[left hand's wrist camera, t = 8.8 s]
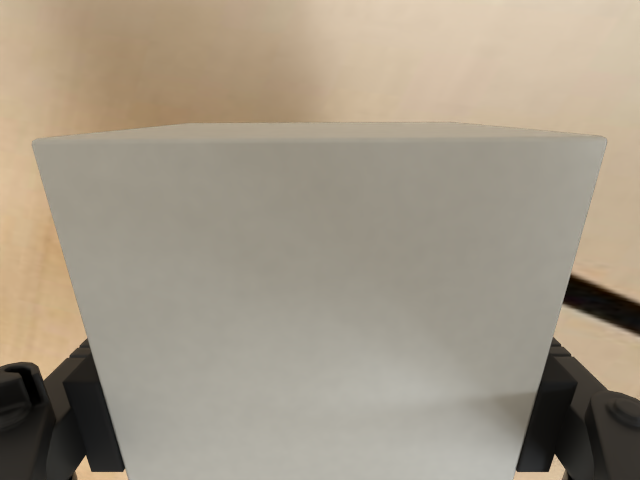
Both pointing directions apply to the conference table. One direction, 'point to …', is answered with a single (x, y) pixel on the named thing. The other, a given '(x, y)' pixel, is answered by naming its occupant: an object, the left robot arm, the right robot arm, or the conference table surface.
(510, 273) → the wide beam
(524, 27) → the conference table surface
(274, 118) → the conference table surface
